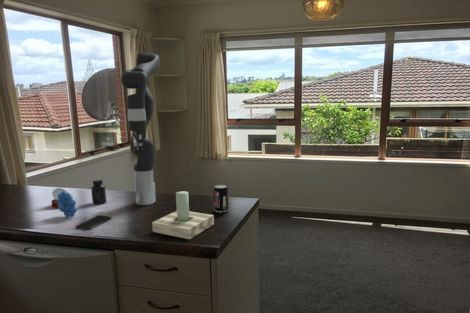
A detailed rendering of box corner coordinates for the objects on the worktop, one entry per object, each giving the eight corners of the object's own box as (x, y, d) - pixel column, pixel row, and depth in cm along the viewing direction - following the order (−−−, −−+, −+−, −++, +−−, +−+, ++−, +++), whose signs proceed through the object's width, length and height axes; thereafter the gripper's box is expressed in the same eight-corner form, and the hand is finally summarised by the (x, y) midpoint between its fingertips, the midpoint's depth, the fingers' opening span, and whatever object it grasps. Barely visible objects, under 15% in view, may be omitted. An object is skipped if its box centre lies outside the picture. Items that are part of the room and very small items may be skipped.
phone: (112, 216, 163) (89, 228, 149) (112, 219, 163) (90, 231, 149) (97, 215, 165) (74, 226, 151) (97, 217, 165) (74, 229, 151)
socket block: (179, 218, 162) (178, 209, 161) (213, 224, 154) (213, 215, 153) (152, 231, 146) (152, 222, 145) (189, 239, 138) (189, 229, 137)
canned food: (68, 210, 190) (76, 193, 192) (70, 214, 181) (78, 195, 183) (45, 204, 184) (54, 185, 186) (47, 207, 176) (55, 187, 177)
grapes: (51, 217, 165) (48, 192, 163) (64, 213, 171) (61, 188, 169) (68, 221, 160) (65, 195, 158) (81, 216, 166) (78, 191, 164)
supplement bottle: (109, 201, 189) (107, 179, 187) (100, 205, 183) (98, 182, 181) (98, 200, 192) (96, 178, 190) (89, 204, 185) (87, 181, 183)
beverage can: (228, 212, 168) (228, 187, 166) (214, 213, 168) (213, 188, 166) (227, 208, 175) (227, 184, 173) (214, 209, 174) (213, 184, 172)
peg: (182, 225, 153) (180, 190, 151) (192, 226, 151) (190, 191, 148) (175, 229, 149) (173, 193, 146) (185, 230, 146) (183, 195, 144)
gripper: (148, 120, 149) (150, 159, 151) (143, 118, 162) (145, 154, 164) (129, 120, 146) (132, 160, 149) (126, 118, 159) (128, 155, 162)
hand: (139, 157), depth 156 cm, fingers open, 8 cm apart
